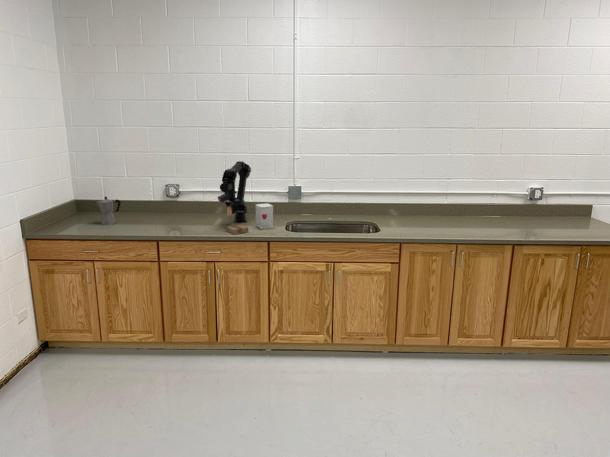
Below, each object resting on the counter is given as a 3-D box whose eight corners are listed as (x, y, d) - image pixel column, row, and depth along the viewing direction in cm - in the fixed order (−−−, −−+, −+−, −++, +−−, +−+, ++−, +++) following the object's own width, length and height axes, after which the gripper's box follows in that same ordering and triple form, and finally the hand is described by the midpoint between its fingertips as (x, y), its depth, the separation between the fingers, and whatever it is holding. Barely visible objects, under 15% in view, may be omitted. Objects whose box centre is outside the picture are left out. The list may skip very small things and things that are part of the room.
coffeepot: (97, 225, 300) (94, 198, 296) (97, 222, 309) (94, 196, 304) (122, 223, 306) (120, 197, 301) (122, 220, 314) (119, 194, 310)
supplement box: (260, 229, 295) (260, 206, 291) (255, 226, 303) (255, 204, 299) (273, 228, 299) (273, 205, 295) (268, 225, 307) (267, 203, 303)
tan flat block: (240, 228, 296) (240, 224, 295) (248, 232, 288) (248, 227, 288) (226, 231, 290) (226, 226, 290) (233, 234, 283) (233, 229, 282)
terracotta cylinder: (232, 214, 303) (232, 205, 301) (236, 215, 299) (236, 206, 297) (226, 215, 300) (225, 206, 298) (229, 216, 296) (229, 207, 294)
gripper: (212, 188, 298) (213, 212, 301) (225, 193, 283) (226, 217, 287) (228, 187, 304) (228, 210, 308) (241, 191, 290) (242, 215, 293)
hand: (231, 213), depth 299 cm, fingers closed on terracotta cylinder, 5 cm apart
